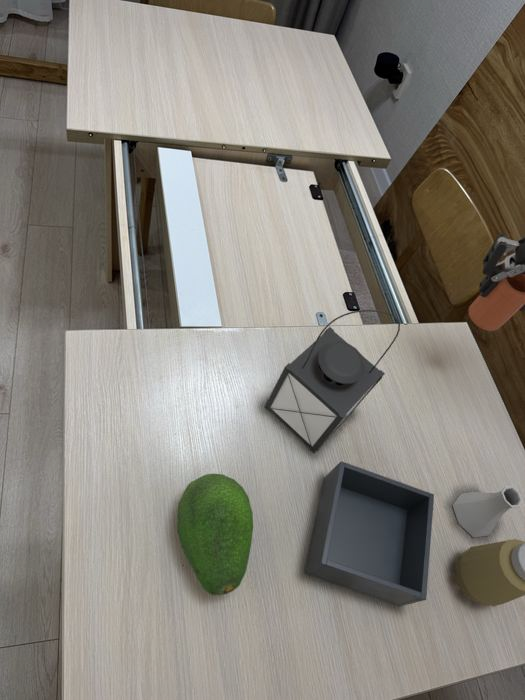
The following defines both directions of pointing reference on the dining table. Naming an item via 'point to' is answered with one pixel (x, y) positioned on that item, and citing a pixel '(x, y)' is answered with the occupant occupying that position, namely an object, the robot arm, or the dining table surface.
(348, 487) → the basin
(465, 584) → the squeeze bottle
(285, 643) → the dining table surface
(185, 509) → the fruit
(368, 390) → the lantern
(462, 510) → the flask
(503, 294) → the jar
